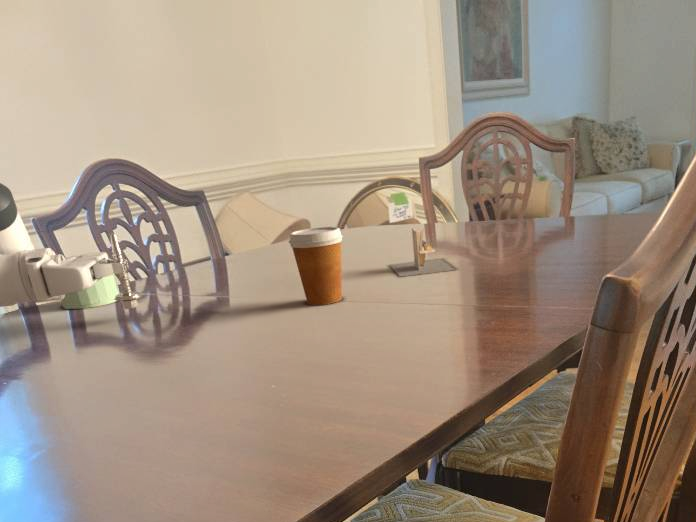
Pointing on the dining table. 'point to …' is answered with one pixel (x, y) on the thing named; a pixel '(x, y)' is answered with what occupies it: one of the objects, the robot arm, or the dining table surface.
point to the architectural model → (421, 259)
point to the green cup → (93, 294)
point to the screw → (123, 278)
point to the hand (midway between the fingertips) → (125, 265)
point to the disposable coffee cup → (319, 263)
